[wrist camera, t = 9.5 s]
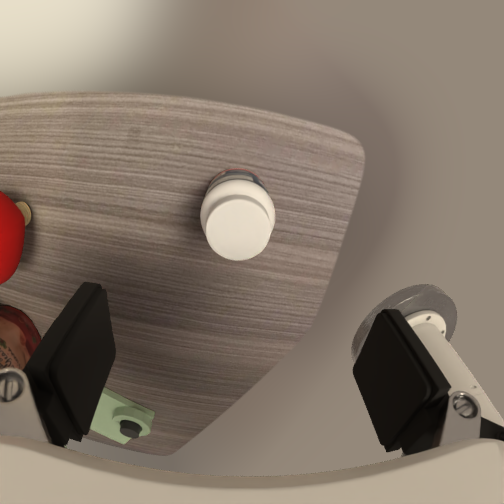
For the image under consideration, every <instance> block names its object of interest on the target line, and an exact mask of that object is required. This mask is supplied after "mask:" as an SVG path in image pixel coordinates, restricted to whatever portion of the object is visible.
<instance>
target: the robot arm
mask: <svg viewBox="0 0 504 504" xmlns="http://www.w3.org/2000/svg"><path fill="white" fill-rule="evenodd" d="M445 333H446V324H445V321H444V319H443V318H442V317H441V316H440V315H439V314H438V313H437V312H435V311H431V310H423V311H419V312H415V313H413V314H410V315H408V316H406V317H405V318H404V316H403V315H402V314H401V312H400V311H399V310H397V309H384V310H382V311H381V313H378V314H377V316H376V318H375V320H374V323H373V325H372V327H371V330H370V332H369V334H368V336H367V339H366V341H365V343H364V345H363V347H362V350H361V352H360V354H359V356H358V358H357V360H356V362H355V364H354V367H353V375H354V377H355V380H356V383H357V385H358V387H359V390H360V392H361V395H362V397H363V400H364V403H365V405H366V408H367V410H368V413H369V415H370V418H371V420H372V423H373V425H374V428H375V431H376V433H377V436H378V439H379V441H380V444H381V445H384V447H385V449H386V452H391V451H395V450H398V449H400V448H402V451H403V453H402V455H401V458H397V459H393V460H389V461H384V462H380V463H375V464H370V465H365V466H360V467H355V468H349V469H342V470H336V471H329V472H320V473H311V474H300V475H285V476H260V477H258V476H257V477H256V476H255V477H245V476H241V477H239V476H214V475H200V474H189V473H180V472H172V471H165V470H158V469H152V468H146V467H140V466H135V465H130V464H125V463H120V462H116V461H111V460H107V459H103V458H99V457H94V456H91V455H88V454H84V453H80V452H77V451H74V450H70V449H67V447H66V444H67V443H68V441H69V439H73V440H76V441H79V442H81V439H82V437H83V434H84V435H87V434H88V432H89V430H90V426H91V423H92V420H93V417H94V414H95V411H96V409H97V406H98V403H99V400H100V397H101V394H102V391H103V389H104V386H105V383H106V381H107V378H108V375H109V373H110V370H111V367H112V365H113V362H114V360H115V355H116V348H115V343H114V338H113V332H112V326H111V320H110V313H109V306H108V299H107V292H106V290H105V289H102V286H101V285H100V284H96V283H90V282H84V283H83V284H82V285H81V286H80V287H79V289H78V290H77V291H76V293H75V294H74V295H73V297H72V298H71V300H70V301H69V302H68V304H67V305H66V306H65V308H64V309H63V311H62V312H61V313H60V315H59V316H58V317H57V318H56V320H55V321H54V322H53V324H52V325H51V327H50V328H49V330H48V331H47V333H46V334H45V336H44V337H43V339H42V340H41V342H40V343H39V345H38V346H37V348H36V349H35V351H34V352H33V354H32V356H31V357H30V359H29V360H28V362H27V364H26V365H25V367H24V369H23V370H20V369H18V368H13V367H7V368H3V369H0V504H504V420H503V419H502V417H501V416H500V414H499V413H498V411H497V410H496V409H495V407H494V406H493V404H492V403H491V401H490V400H489V398H488V397H487V395H486V394H485V392H484V391H483V389H482V388H481V386H480V385H479V384H478V382H477V381H476V379H475V378H474V376H473V375H472V373H471V372H470V371H469V369H468V368H467V366H466V365H465V364H464V362H463V361H462V360H461V358H460V357H459V355H458V354H457V353H456V351H455V350H454V349H453V347H452V346H451V345H450V344H449V342H448V341H447V340H446V338H445Z"/></svg>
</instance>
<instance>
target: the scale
mask: <svg viewBox="0 0 504 504" xmlns="http://www.w3.org/2000/svg"><path fill="white" fill-rule="evenodd" d="M154 414H155V412H154V411H152V410H149V409H147V408H145V407H143V406H141V405H139V404H137V403H135V402H133V401H130V400H128V399H126V398H125V397H123V396H121V395H119V394H117V393H115V392H113V391H111V390H109V389H107V388H105V387H104V389H103V391H102V394H101V397H100V400H99V403H98V406H97V409H96V411H95V414H94V417H93V420H92V423H91V426H90V429H92V430H94V431H96V432H98V433H100V434H102V435H104V436H106V437H109V438H111V439H113V440H115V441H117V442H120V443H122V444H125V443H126V442H127V441H128V440H129V439H131V438H129V437H126V436H124V435H123V434H121V433H120V427H121V423H122V420H130V421H133V422H136V423H138V424H139V425H140V426H141V429H140V434H139V436H146V435H147V434H149V433H150V432H151V426H152V421H151V420H152V419H153V418H154Z"/></svg>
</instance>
